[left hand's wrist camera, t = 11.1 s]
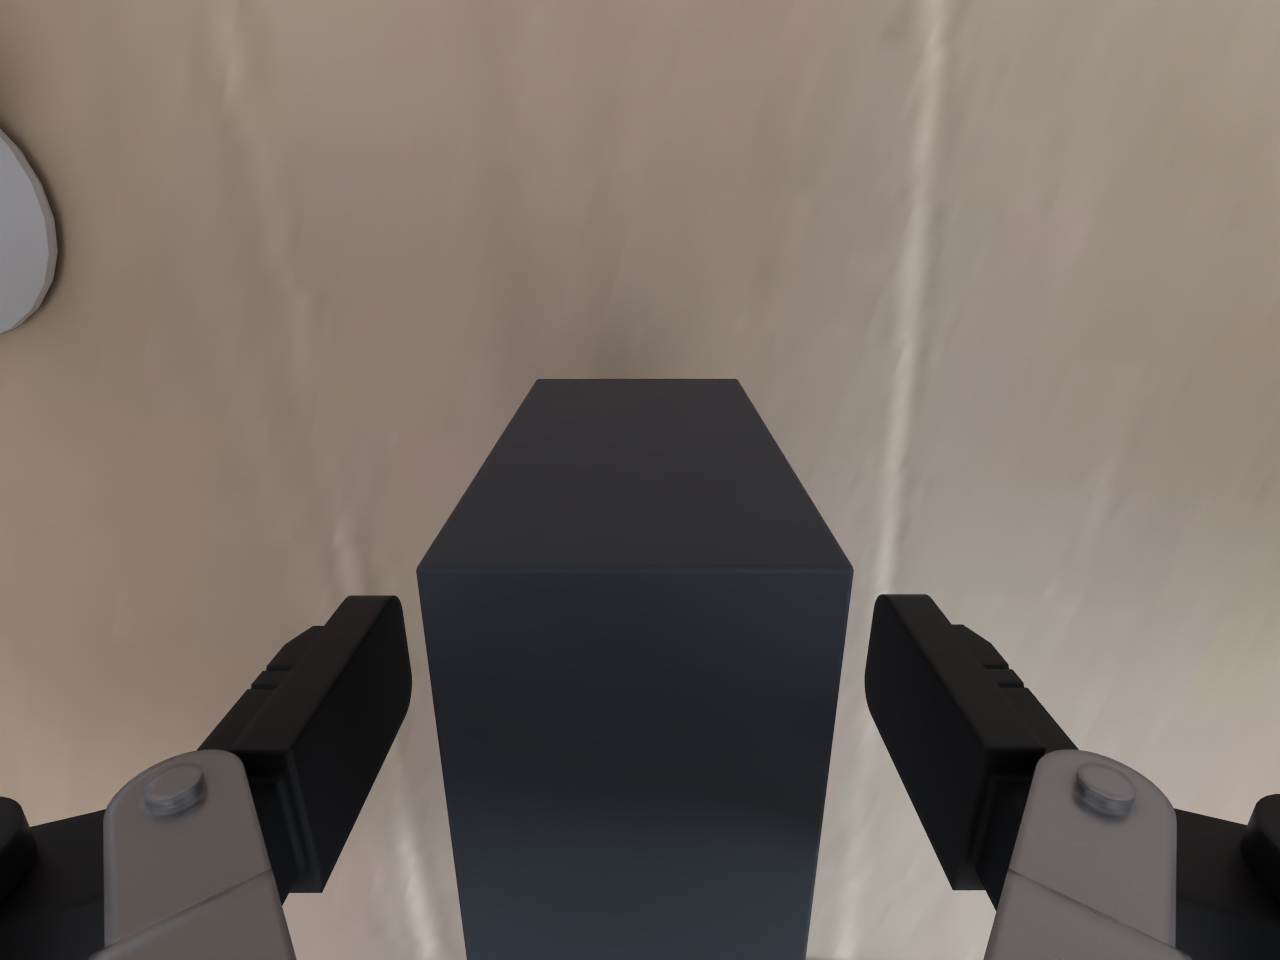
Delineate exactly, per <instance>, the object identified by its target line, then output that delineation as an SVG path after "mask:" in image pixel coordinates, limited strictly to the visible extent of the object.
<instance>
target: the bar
mask: <svg viewBox="0 0 1280 960" xmlns="http://www.w3.org/2000/svg"><path fill="white" fill-rule="evenodd" d="M853 571H854V570H853V567H852V565H851V564H850V562H849V560H848V559H847V557H846V555H845V554H844V552H843V551H842V549H841V547H840V546H839V544H838V542H837V541H836V539H835V537H834V536H833V534H832V533H831V531H830V529H829V528H828V526H827V524H826V523H825V521H824V520H823V518H822V516H821V515H820V513H819V511H818V510H817V508H816V507H815V505H814V503H813V502H812V500H811V498H810V497H809V495H808V494H807V492H806V490H805V489H804V487H803V485H802V484H801V482H800V481H799V479H798V477H797V476H796V474H795V472H794V471H793V469H792V468H791V466H790V464H789V463H788V461H787V459H786V458H785V456H784V455H783V453H782V451H781V450H780V448H779V446H778V445H777V443H776V442H775V440H774V438H773V437H772V435H771V433H770V432H769V430H768V429H767V427H766V425H765V424H764V422H763V420H762V419H761V417H760V415H759V414H758V412H757V411H756V409H755V407H754V406H753V404H752V402H751V401H750V399H749V398H748V396H747V394H746V393H745V391H744V389H743V388H742V386H741V385H740V383H739V381H738V380H737V379H538V380H536V382H535V384H534V385H533V387H532V388H531V390H530V391H529V393H528V395H527V396H526V398H525V399H524V401H523V402H522V404H521V406H520V407H519V409H518V410H517V412H516V413H515V415H514V416H513V418H512V420H511V421H510V423H509V424H508V426H507V427H506V429H505V431H504V432H503V434H502V435H501V437H500V438H499V440H498V442H497V443H496V445H495V446H494V448H493V449H492V451H491V453H490V454H489V456H488V457H487V459H486V460H485V462H484V463H483V465H482V467H481V468H480V470H479V471H478V473H477V474H476V476H475V478H474V479H473V481H472V482H471V484H470V485H469V487H468V489H467V490H466V492H465V493H464V495H463V496H462V498H461V499H460V501H459V503H458V504H457V506H456V507H455V509H454V510H453V512H452V514H451V515H450V517H449V518H448V520H447V521H446V523H445V525H444V526H443V528H442V529H441V531H440V532H439V534H438V536H437V537H436V539H435V540H434V542H433V543H432V545H431V546H430V548H429V550H428V551H427V553H426V554H425V556H424V557H423V559H422V561H421V562H420V564H419V565H418V567H417V570H416V573H417V580H418V588H419V596H420V603H421V611H422V619H423V626H424V634H425V642H426V649H427V657H428V664H429V672H430V680H431V687H432V695H433V703H434V710H435V718H436V726H437V733H438V741H439V749H440V756H441V764H442V772H443V779H444V787H445V795H446V802H447V810H448V817H449V825H450V833H451V840H452V848H453V856H454V863H455V871H456V879H457V886H458V894H459V902H460V909H461V917H462V925H463V932H464V940H465V947H466V955H467V960H805V958H806V950H807V942H808V934H809V926H810V917H811V909H812V901H813V893H814V885H815V877H816V869H817V861H818V853H819V845H820V837H821V829H822V821H823V813H824V805H825V797H826V789H827V781H828V773H829V765H830V756H831V748H832V740H833V732H834V724H835V716H836V708H837V700H838V692H839V684H840V676H841V668H842V660H843V652H844V644H845V636H846V628H847V620H848V612H849V604H850V595H851V587H852V579H853Z"/></svg>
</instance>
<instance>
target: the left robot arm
mask: <svg viewBox="0 0 1280 960" xmlns="http://www.w3.org/2000/svg"><path fill="white" fill-rule="evenodd" d="M411 690H412V674H411V666H410V659H409V652H408V645H407V638H406V631H405V624H404V617H403V610H402V606H401V602H400V600H399V598H398V597H397V596H348V597H347V598H346V599H345V600H344V601H343V602H342V604H341V605H340V606H339V607H338V609H337V610H336V611H335V613H334V614H333V615H332V616H331V618H330V619H329V620H328V622H327V623H326V624H325V625H324V626H312V627H311V628H309V629H308V630H306V631H305V632H303V633H302V634H300V635H299V636H297V637H296V638H294V639H293V640H291V641H290V642H288V643H287V644H285V645H284V646H283V647H282V649H281V650H280V651H279V652H278V653H277V655H276V656H275V657H274V658H273V659H272V661H271V662H270V663H269V664H268V665H267V669H266V671H262V673H261V674H260V675H259V676H258V677H257V679H256V680H255V681H254V682H253V683H252V685H251V689H247V691H246V692H245V693H244V694H243V695H242V697H241V698H240V699H239V700H238V701H237V703H236V704H235V705H234V706H233V707H232V709H231V710H230V711H229V712H228V713H227V715H226V716H225V717H224V718H223V719H222V721H221V722H220V723H219V724H218V725H217V727H216V728H215V729H214V730H213V731H212V733H211V734H210V735H209V736H208V737H207V739H206V740H205V741H204V742H203V743H202V745H201V746H200V747H199V748H198V749H197V751H193V752H188V753H184V754H181V755H178V756H174V757H172V758H169V759H167V760H164V761H162V762H160V763H158V764H156V765H154V766H152V767H150V768H148V769H147V770H145V771H143V772H142V773H140V774H138V775H137V776H136V777H134V778H133V779H132V780H130V781H129V782H128V783H127V784H126V785H125V786H123V787H122V788H121V789H120V790H119V791H118V793H117V794H116V795H115V796H114V797H113V798H112V800H111V801H110V803H109V805H108V806H107V809H105V810H101V811H97V812H93V813H89V814H85V815H80V816H76V817H72V818H67V819H63V820H59V821H54V822H50V823H46V824H41V825H37V826H33V827H29V824H28V822H27V819H26V817H25V815H24V812H23V810H22V808H21V806H20V805H19V804H18V803H17V802H16V801H14V800H12V799H10V798H5V797H0V960H296V956H295V952H294V949H293V945H292V941H291V938H290V934H289V930H288V927H287V923H286V919H285V916H284V912H283V908H282V905H283V903H284V901H285V899H286V898H287V896H288V894H289V893H322V891H323V889H324V887H325V885H326V883H327V881H328V879H329V877H330V875H331V872H332V870H333V868H334V866H335V864H336V862H337V860H338V858H339V855H340V853H341V851H342V849H343V847H344V845H345V843H346V841H347V839H348V836H349V834H350V832H351V830H352V828H353V826H354V824H355V822H356V819H357V817H358V815H359V813H360V811H361V809H362V807H363V805H364V802H365V800H366V798H367V796H368V794H369V792H370V790H371V788H372V786H373V783H374V781H375V779H376V777H377V775H378V773H379V771H380V769H381V766H382V764H383V762H384V760H385V758H386V756H387V754H388V752H389V750H390V747H391V745H392V743H393V741H394V739H395V737H396V735H397V733H398V730H399V728H400V726H401V724H402V722H403V720H404V718H405V716H406V713H407V710H408V707H409V703H410V698H411ZM865 693H866V700H867V704H868V708H869V711H870V713H871V715H872V718H873V720H874V722H875V724H876V726H877V728H878V730H879V733H880V735H881V737H882V739H883V741H884V743H885V745H886V748H887V750H888V752H889V754H890V756H891V758H892V760H893V763H894V765H895V767H896V769H897V771H898V773H899V776H900V778H901V780H902V782H903V784H904V786H905V788H906V791H907V793H908V795H909V797H910V799H911V801H912V803H913V806H914V808H915V810H916V812H917V814H918V816H919V818H920V821H921V823H922V825H923V827H924V829H925V831H926V833H927V836H928V838H929V840H930V842H931V844H932V846H933V848H934V851H935V853H936V855H937V857H938V859H939V861H940V863H941V866H942V868H943V870H944V872H945V874H946V876H947V878H948V881H949V883H950V885H951V887H952V889H953V890H986V892H987V894H988V896H989V898H990V900H991V902H992V904H993V906H994V908H995V910H996V915H995V919H994V923H993V927H992V930H991V934H990V938H989V941H988V945H987V949H986V952H985V956H984V960H1280V794H1274V795H1269V796H1266V797H1264V798H1262V799H1260V800H1259V801H1258V802H1257V803H1256V806H1255V808H1254V810H1253V813H1252V815H1251V818H1250V820H1249V822H1248V825H1243V824H1239V823H1235V822H1230V821H1226V820H1222V819H1217V818H1213V817H1209V816H1204V815H1200V814H1196V813H1191V812H1187V811H1183V810H1178V809H1175V808H1173V806H1172V805H1171V803H1170V801H1169V800H1168V798H1167V797H1166V796H1165V795H1164V794H1163V793H1162V791H1161V790H1160V789H1159V788H1158V787H1157V786H1155V785H1154V784H1153V783H1152V782H1151V781H1150V780H1148V779H1147V778H1146V777H1144V776H1143V775H1142V774H1140V773H1138V772H1137V771H1135V770H1133V769H1132V768H1130V767H1128V766H1126V765H1124V764H1122V763H1120V762H1118V761H1116V760H1113V759H1111V758H1108V757H1106V756H1102V755H1099V754H1096V753H1092V752H1087V751H1081V750H1079V749H1078V748H1077V747H1076V746H1075V745H1074V743H1073V742H1072V741H1071V740H1070V739H1069V737H1068V736H1067V735H1066V734H1065V732H1064V731H1063V730H1062V729H1061V728H1060V726H1059V725H1058V724H1057V723H1056V722H1055V720H1054V719H1053V718H1052V717H1051V716H1050V714H1049V713H1048V712H1047V711H1046V709H1045V708H1044V707H1043V706H1042V705H1041V703H1040V702H1039V701H1038V700H1037V699H1036V697H1035V696H1034V695H1033V694H1032V693H1031V691H1030V690H1029V689H1028V688H1024V683H1023V682H1022V680H1021V679H1020V678H1019V677H1018V676H1017V674H1016V673H1015V672H1014V671H1013V670H1012V669H1009V665H1008V663H1007V662H1006V661H1005V660H1004V659H1003V657H1002V656H1001V655H1000V654H999V653H998V651H997V650H996V649H995V648H994V647H993V645H992V644H991V643H990V642H988V641H987V640H985V639H984V638H982V637H981V636H979V635H978V634H976V633H974V632H973V631H971V630H970V629H968V628H967V627H965V626H964V625H951V623H950V622H949V621H948V619H947V618H946V617H945V615H944V614H943V613H942V612H941V610H940V609H939V608H938V606H937V605H936V604H935V602H934V601H933V600H932V599H931V598H930V596H928V595H925V594H882V595H879V596H878V598H877V600H876V602H875V606H874V612H873V619H872V626H871V633H870V640H869V647H868V654H867V662H866V669H865Z"/></svg>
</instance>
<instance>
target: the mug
mask: <svg viewBox="0 0 1280 960" xmlns="http://www.w3.org/2000/svg"><path fill="white" fill-rule="evenodd" d="M57 254H58V248H57V239H56V230H55V222H54V217H53V214H52V211H51V209H50V206H49V203H48V200H47V197H46V195H45V192H44V189H43V186H42V184H41V182H40V181H39V179H38V177H37V176H36V174H35V173H34V171H33V169H32V168H31V166H30V164H29V163H28V161H27V160H26V158H25V156H24V155H23V153H22V151H21V150H20V149H19V148H18V147H17V146H16V145H15V144H14V143H13V142H12V140H11V139H10V138H9V137H8V136H7V135H6V134H5V133H4V132H3V131H2V130H1V128H0V334H2V333H5V332H7V331H9V330H12V329H14V328H17V327H18V326H19V325H21V324H22V323H23V322H24V321H25V320H26V319H27V318H28V317H29V316H31V315H32V314H33V313H34V312H35V311H36V310H37V309H38V308H39V306H40V305H41V303H42V301H43V299H44V297H45V295H46V293H47V291H48V289H49V288H50V286H51V284H52V282H53V279H54V272H55V266H56V260H57Z"/></svg>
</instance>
